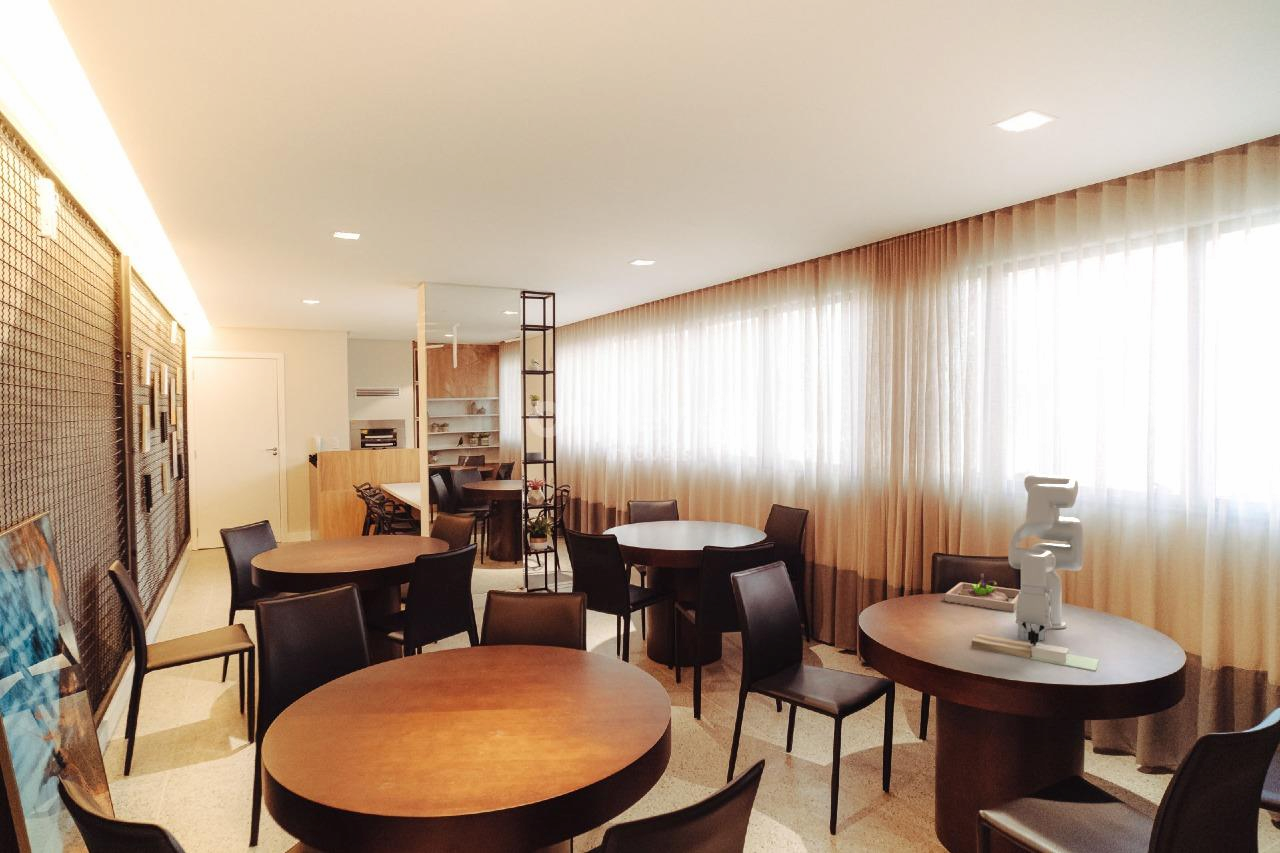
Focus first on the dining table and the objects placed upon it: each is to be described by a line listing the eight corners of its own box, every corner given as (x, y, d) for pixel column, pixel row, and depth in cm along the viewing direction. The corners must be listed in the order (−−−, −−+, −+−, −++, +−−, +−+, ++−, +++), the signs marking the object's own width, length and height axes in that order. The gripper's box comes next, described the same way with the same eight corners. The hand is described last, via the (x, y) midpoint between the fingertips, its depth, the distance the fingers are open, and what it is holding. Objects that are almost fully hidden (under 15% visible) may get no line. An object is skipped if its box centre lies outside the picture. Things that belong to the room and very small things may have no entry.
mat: (1036, 649, 238) (1036, 648, 238) (1099, 660, 227) (1099, 659, 227) (1031, 659, 229) (1031, 658, 229) (1095, 671, 218) (1095, 670, 218)
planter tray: (960, 589, 323) (960, 582, 323) (1025, 598, 306) (1025, 590, 306) (945, 601, 302) (945, 593, 302) (1014, 612, 285) (1014, 603, 285)
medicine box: (1040, 636, 253) (1040, 613, 252) (1046, 640, 248) (1046, 616, 248) (1017, 636, 253) (1017, 612, 253) (1023, 640, 249) (1023, 616, 249)
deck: (978, 640, 249) (978, 633, 249) (1034, 650, 238) (1034, 643, 238) (971, 647, 241) (971, 640, 241) (1029, 658, 230) (1029, 651, 230)
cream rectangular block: (1034, 651, 236) (1034, 642, 236) (1068, 657, 229) (1068, 648, 229) (1031, 656, 231) (1031, 647, 231) (1066, 662, 225) (1066, 653, 225)
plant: (1007, 596, 311) (1007, 572, 311) (1009, 607, 293) (1009, 581, 293) (958, 592, 320) (958, 568, 320) (958, 602, 302) (958, 576, 302)
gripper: (1060, 590, 232) (1060, 644, 232) (1011, 584, 241) (1011, 636, 241) (1057, 595, 226) (1057, 650, 226) (1006, 588, 235) (1006, 641, 235)
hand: (1033, 643), depth 234 cm, fingers closed
